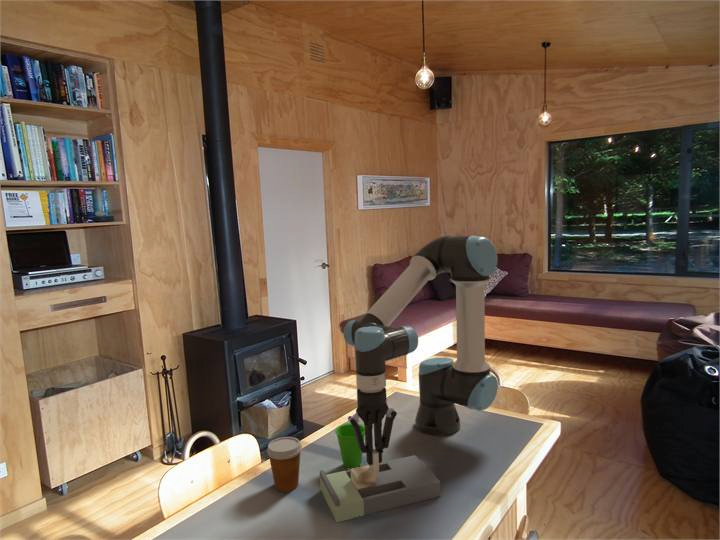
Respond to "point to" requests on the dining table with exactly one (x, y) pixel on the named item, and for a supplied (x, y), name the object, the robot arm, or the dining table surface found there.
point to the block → (363, 477)
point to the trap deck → (379, 489)
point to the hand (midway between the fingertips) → (374, 474)
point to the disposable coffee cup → (285, 462)
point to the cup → (349, 445)
